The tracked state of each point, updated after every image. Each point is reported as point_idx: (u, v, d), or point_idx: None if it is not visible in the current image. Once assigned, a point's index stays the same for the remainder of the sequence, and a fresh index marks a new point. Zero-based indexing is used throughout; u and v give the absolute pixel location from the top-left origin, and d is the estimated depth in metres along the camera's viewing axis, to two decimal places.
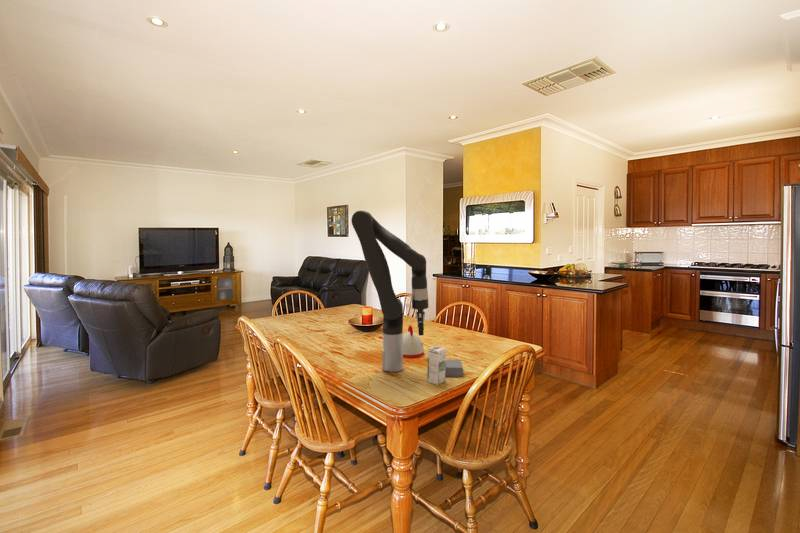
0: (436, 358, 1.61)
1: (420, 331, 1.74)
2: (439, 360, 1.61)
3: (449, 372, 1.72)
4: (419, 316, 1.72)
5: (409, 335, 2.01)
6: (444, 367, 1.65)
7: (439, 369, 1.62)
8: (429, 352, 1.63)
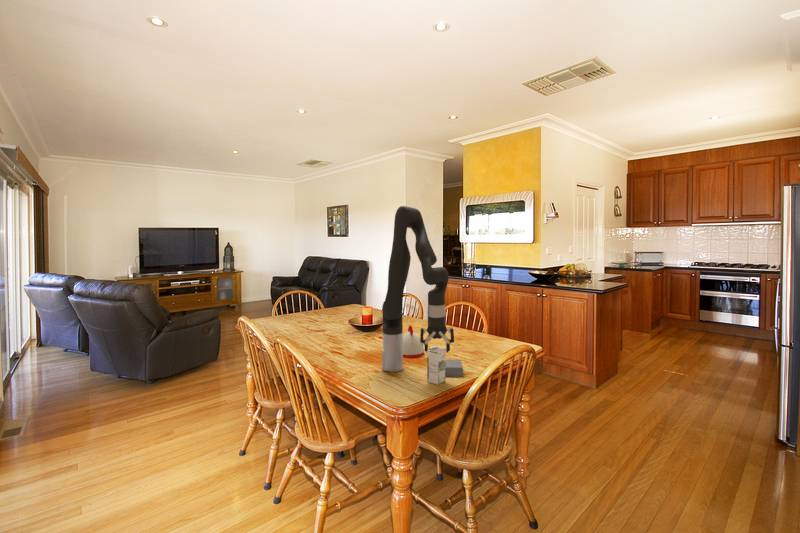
0: (436, 358, 1.62)
1: None
2: (438, 359, 1.61)
3: (449, 372, 1.72)
4: (453, 331, 1.64)
5: (409, 335, 2.01)
6: (444, 367, 1.65)
7: (439, 369, 1.62)
8: (429, 352, 1.64)
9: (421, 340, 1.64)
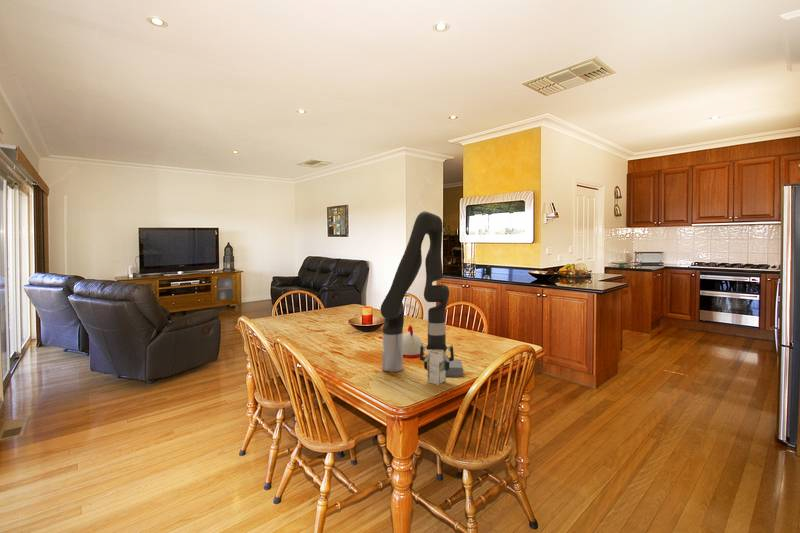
0: (436, 358, 1.61)
1: None
2: (439, 360, 1.61)
3: (449, 372, 1.72)
4: None
5: (409, 335, 2.01)
6: (444, 367, 1.65)
7: (439, 370, 1.62)
8: (429, 352, 1.63)
9: (421, 357, 1.64)
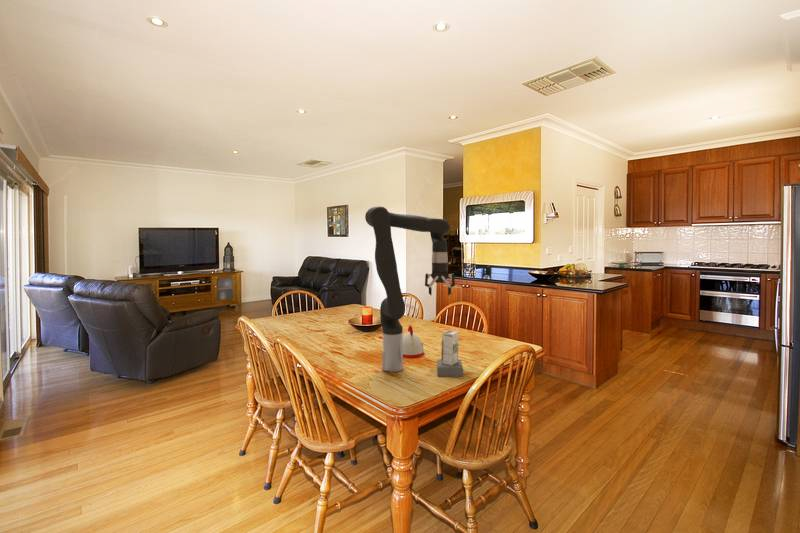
0: (450, 341, 1.73)
1: (450, 291, 1.87)
2: (453, 342, 1.72)
3: (449, 372, 1.72)
4: None
5: (409, 335, 2.01)
6: (457, 349, 1.76)
7: (453, 351, 1.73)
8: (443, 335, 1.74)
9: (426, 284, 1.86)
